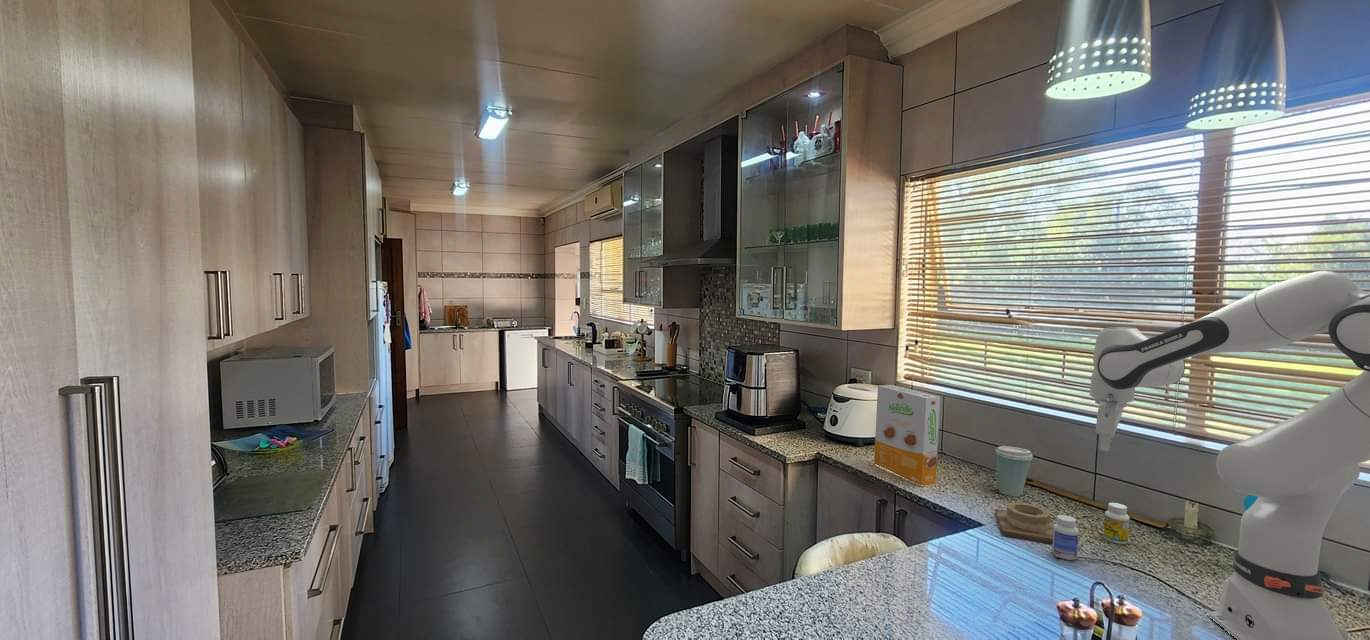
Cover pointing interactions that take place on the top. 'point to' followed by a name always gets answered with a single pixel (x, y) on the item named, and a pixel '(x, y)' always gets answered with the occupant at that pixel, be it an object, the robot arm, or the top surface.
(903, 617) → the top surface
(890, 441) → the cereal box
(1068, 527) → the pill bottle
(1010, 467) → the disposable coffee cup
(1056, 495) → the top surface
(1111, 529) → the supplement bottle
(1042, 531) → the tan wooden ringed block
